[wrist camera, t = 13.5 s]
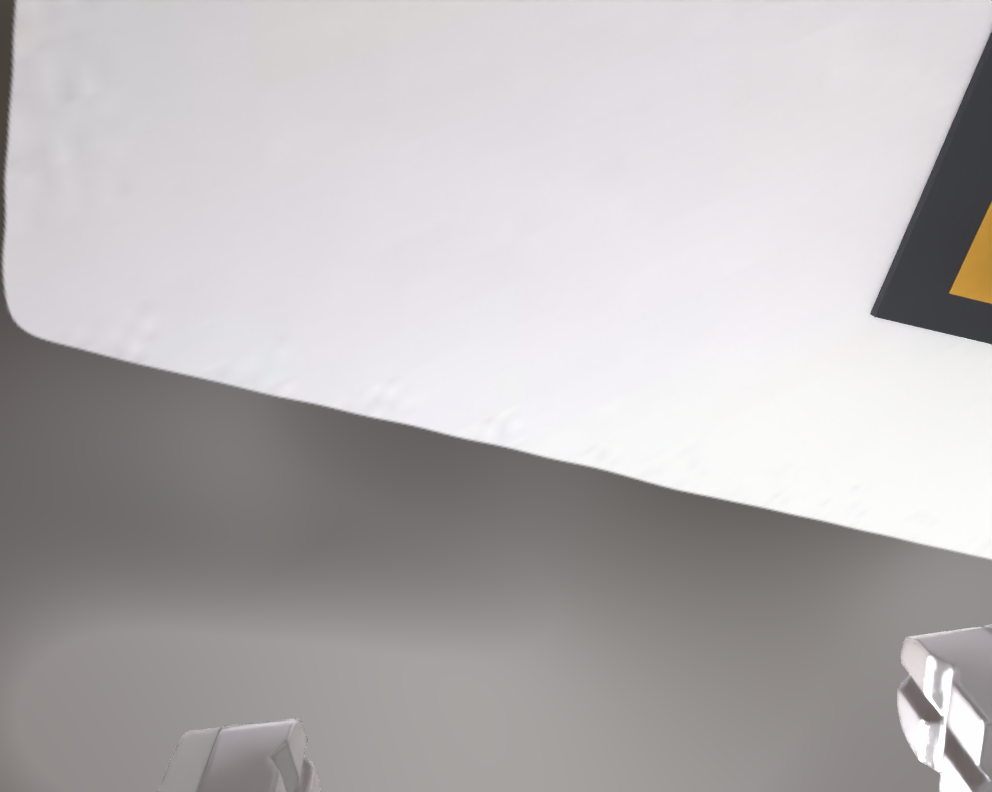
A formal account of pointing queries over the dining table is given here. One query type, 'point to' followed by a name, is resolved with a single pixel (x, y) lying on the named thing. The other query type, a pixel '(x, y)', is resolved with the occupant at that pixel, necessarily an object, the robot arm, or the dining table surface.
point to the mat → (951, 230)
